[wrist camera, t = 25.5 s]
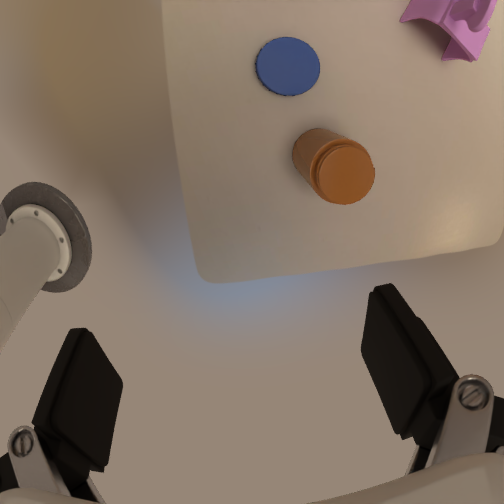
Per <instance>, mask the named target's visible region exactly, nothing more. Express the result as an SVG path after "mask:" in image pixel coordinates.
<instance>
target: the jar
mask: <svg viewBox="0 0 504 504" xmlns="http://www.w3.org/2000/svg"><path fill="white" fill-rule="evenodd" d="M292 156H293V163H294V166H295V168H296V169H297V171H298V172H299V173H300V174H301V176H302V177H303V178H304V179H305V180H306V181H307V183H308V184H309V185H310V186H311V187H312V188H313V190H314V191H315V192H316V193H317V194H318V195H319V196H320V197H321V198H322V199H324V200H325V201H328V202H330V203H335V204H343V205H346V204H352V203H355V202H357V201H359V200H361V199H362V198H363V197H364V196H366V194H367V193H368V192H369V190H370V189H371V187H372V185H373V183H374V178H375V168H374V167H373V164H372V161H371V158H370V156H369V154H368V152H367V151H366V149H365V148H364V147H363V146H362V145H360V144H359V143H357V142H355V141H353V140H351V139H348V138H346V137H344V136H342V135H339V134H337V133H334V132H332V131H329V130H327V129H321V128H317V129H312V130H309V131H307V132H305V133H304V134H302V135H301V136H300V137H299V138H298V140H297V141H296V143H295V145H294V148H293V155H292Z"/></svg>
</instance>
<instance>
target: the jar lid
mask: <svg viewBox="0 0 504 504" xmlns="http://www.w3.org/2000/svg"><path fill="white" fill-rule="evenodd" d="M255 64H256V71H255V72H256V73H257V76H258V79H259V80H260V81H261V83H262V84H263V85H264V86H265V87H266V88H267V89H269V91H272V92H274V93H276V94H280V95H284V96H286V95H292V96H295V95H298V94H302V93H304V92H306V91H307V90H309V89H310V88H311V87H312V86H313V85H314V84H315V83H316V81H317V79H318V77H319V73H320V63H319V59H318V56H317V54H316V53H315V51H314V50H313V49H312V48H311V47H310V46H309V45H308V44H307V43H305V42H304V41H302V40H299V39H296V38H292V37H282V38H277V39H274V40H272V41H270V42H269V43H267V44H266V45H265V46H264V47H263V48H261V50H260V52H259V54H258V55H257V59H256V63H255Z"/></svg>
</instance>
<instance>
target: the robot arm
mask: <svg viewBox="0 0 504 504" xmlns="http://www.w3.org/2000/svg"><path fill="white" fill-rule="evenodd" d="M71 258H72V248H71V243H70V239H69V237H68V234H67V232H66V230H65V228H64V226H63V225H62V223H61V222H60V221H59V219H58V218H57V217H56V216H55V215H54V214H53V213H51V212H50V211H49V210H47V209H45V208H44V207H42V206H39V205H35V204H27V205H23V206H21V207H19V208H18V209H16V210H15V211H14V212H13V213H12V214H11V215H10V217H9V219H8V221H7V225H6V232H4V233H3V234H2V235H1V236H0V353H1V351H2V349H3V347H4V346H5V344H6V342H7V341H8V339H9V337H10V336H11V334H12V332H13V330H14V329H15V327H16V326H17V324H18V323H19V321H20V320H21V318H22V316H23V315H24V313H25V312H26V310H27V309H28V307H29V306H30V304H31V303H32V301H33V300H34V298H35V297H36V295H37V294H38V292H39V291H40V290H41V288H42V287H43V285H44V284H45V282H46V281H54V280H57V279H59V278H60V277H62V276H63V275H64V274H65V272H66V271H67V269H68V268H69V265H70V263H71ZM361 353H362V357H363V359H364V361H365V364H366V365H367V368H368V370H369V373H370V375H371V377H372V380H373V382H374V384H375V387H376V389H377V391H378V393H379V396H380V398H381V401H382V403H383V406H384V408H385V410H386V413H387V415H388V418H389V420H390V422H391V425H392V428H393V430H394V432H395V433H396V434H400V436H401V438H402V440H404V439H407V438H410V437H412V436H413V438H414V441H415V443H416V445H417V446H416V449H415V452H414V454H413V456H412V459H411V461H410V464H409V466H408V469H407V471H406V473H405V476H404V477H401V478H398V479H395V480H393V481H390V482H387V483H384V484H381V485H378V486H375V487H372V488H368V489H364V490H361V491H358V492H354V493H351V494H347V495H343V496H339V497H335V498H331V499H327V500H322V501H318V502H313V503H307V504H504V399H503V398H500V397H497V396H494V392H493V389H492V386H491V385H490V383H489V382H488V381H487V380H486V379H484V378H483V377H481V376H478V375H473V374H470V375H465V376H463V377H461V378H459V376H458V374H457V373H456V371H455V369H454V368H453V366H452V365H451V363H450V361H449V360H448V358H447V357H446V355H445V354H444V352H443V350H442V349H441V347H440V346H439V344H438V343H437V342H436V340H435V338H434V337H433V335H432V334H431V332H430V331H429V329H428V328H427V327H426V325H425V324H424V322H423V321H422V320H421V319H420V318H419V317H416V315H415V314H414V313H413V311H412V310H411V308H410V307H409V306H408V304H407V303H406V301H405V300H404V298H403V297H402V296H401V294H400V293H399V292H398V290H397V289H396V287H395V286H394V285H393V284H391V283H389V284H384V285H380V286H376V287H375V288H374V290H373V292H370V293H369V299H368V307H367V314H366V320H365V326H364V332H363V339H362V344H361ZM122 389H123V382H122V379H121V378H120V376H119V375H118V373H117V372H116V370H115V369H114V367H113V366H112V364H111V363H110V361H109V360H108V358H107V356H106V355H105V353H104V351H103V350H102V348H101V347H100V345H99V343H98V342H97V340H96V338H95V337H94V335H93V334H92V332H89V331H88V329H86V328H74V329H70V331H69V332H68V334H67V336H66V338H65V341H64V343H63V345H62V347H61V350H60V352H59V354H58V356H57V358H56V361H55V363H54V365H53V368H52V370H51V372H50V375H49V377H48V380H47V382H46V385H45V387H44V390H43V392H42V395H41V397H40V400H39V403H38V406H37V408H36V411H35V414H34V417H33V420H32V424H33V425H34V426H35V427H34V430H33V429H32V428H31V427H29V426H20V427H18V428H16V429H15V430H14V431H13V432H12V434H11V435H10V437H9V440H8V453H6V454H5V455H3V456H2V457H1V458H0V504H106V503H105V501H104V500H103V498H102V496H101V495H100V494H99V492H98V490H97V489H96V487H95V485H94V483H93V482H92V480H91V478H90V476H89V472H90V470H91V471H96V472H104V467H105V466H106V465H107V464H108V461H109V455H110V449H111V444H112V438H113V432H114V427H115V422H116V417H117V412H118V407H119V403H120V398H121V394H122Z"/></svg>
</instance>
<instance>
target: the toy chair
mask: <svg viewBox="0 0 504 504" xmlns="http://www.w3.org/2000/svg"><path fill="white" fill-rule="evenodd" d="M496 2H497V0H411V2H410V3H409V5H408V7H407V9H406V10H405V12H404V14H403V15H402V17H401V19H400V22H401V23H402V22H405V21H409V20H412V19H419V18H421V19H426V20H429V21H431V22H433V23H435V24H437V25H439V26H440V27H442V28H443V29H444V30H445V31H446V32H447V33H448V34H449V35H450V36H451V37H452V38H451V40H450V42H449V44H448V46H447V48H446V50H445V52H444V54H443V56H442V58H441V59H442V60H443V61H446V60H453V59H462V60H466V61H469V62H472V61H473V60H475V61H477V60H478V57H479V55H480V53H481V50H482V47H483V45H484V42H485V40H486V38H487V36H488V34H489V31H490V28H489V27H488V26H487V23H488V21H489V20H490V18H491V16H492V13H493V11H494V8H495V5H496Z"/></svg>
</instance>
